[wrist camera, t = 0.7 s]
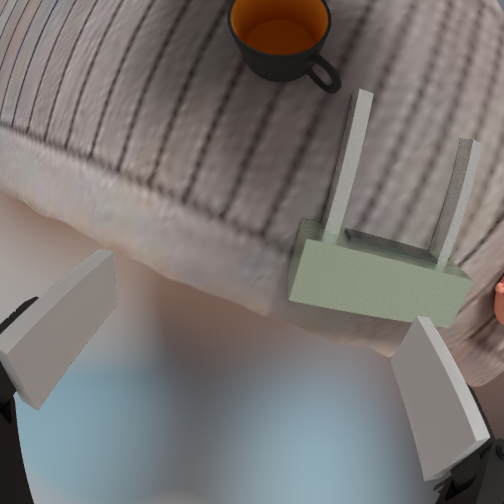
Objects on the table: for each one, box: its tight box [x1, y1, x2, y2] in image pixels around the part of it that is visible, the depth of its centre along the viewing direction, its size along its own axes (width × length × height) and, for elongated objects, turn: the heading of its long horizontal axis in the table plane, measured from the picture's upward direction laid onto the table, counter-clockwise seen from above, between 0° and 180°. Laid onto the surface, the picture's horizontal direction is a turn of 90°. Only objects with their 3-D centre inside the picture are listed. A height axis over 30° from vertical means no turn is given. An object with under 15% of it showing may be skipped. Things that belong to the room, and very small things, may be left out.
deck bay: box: [288, 89, 482, 328], centre depth 28 cm, size 23×22×7 cm
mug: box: [227, 0, 342, 94], centre depth 22 cm, size 8×12×10 cm
